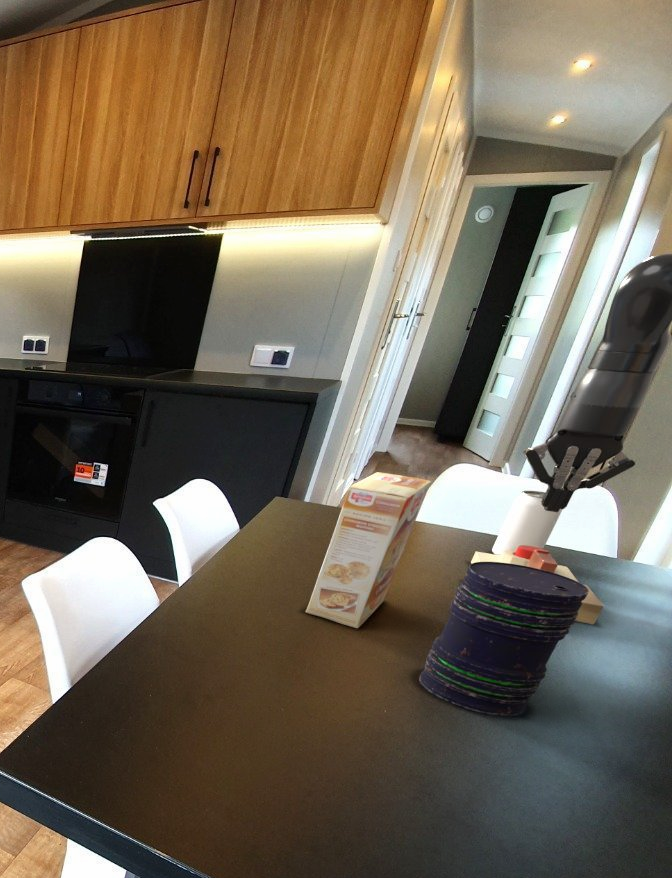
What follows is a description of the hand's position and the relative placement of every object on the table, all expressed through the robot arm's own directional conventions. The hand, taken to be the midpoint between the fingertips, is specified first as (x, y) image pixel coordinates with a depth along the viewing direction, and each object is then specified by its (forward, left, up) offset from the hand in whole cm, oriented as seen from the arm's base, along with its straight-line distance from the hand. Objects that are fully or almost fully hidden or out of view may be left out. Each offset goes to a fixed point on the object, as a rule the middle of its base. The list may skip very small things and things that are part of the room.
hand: (550, 510), depth 104 cm
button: (0, 0, -9) cm, 9 cm away
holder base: (+1, +13, -12) cm, 18 cm away
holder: (+1, +13, -9) cm, 16 cm away
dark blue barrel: (+11, +54, -12) cm, 56 cm away
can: (-1, -14, -12) cm, 19 cm away
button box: (0, 0, -12) cm, 12 cm away
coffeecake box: (+24, +34, -12) cm, 43 cm away
